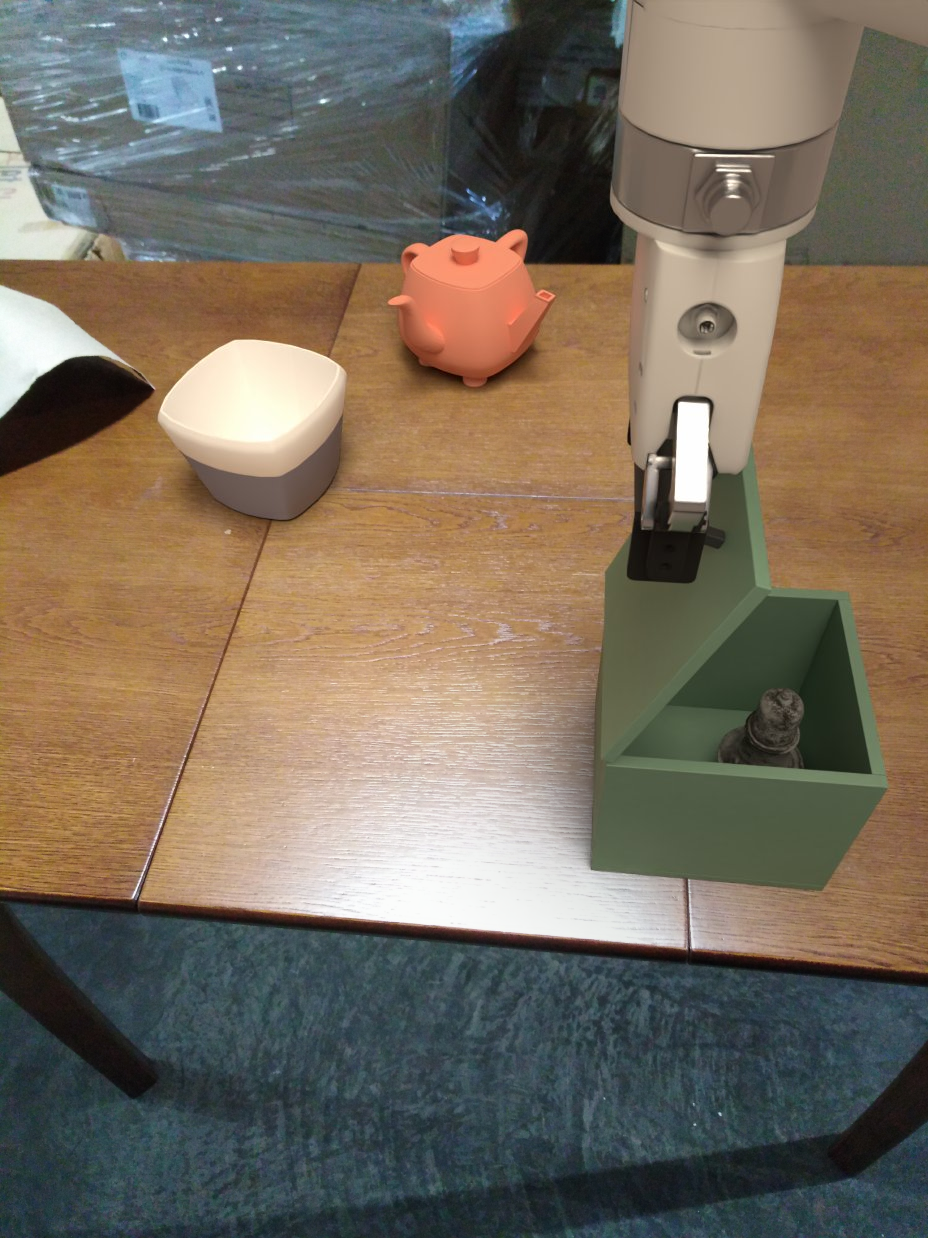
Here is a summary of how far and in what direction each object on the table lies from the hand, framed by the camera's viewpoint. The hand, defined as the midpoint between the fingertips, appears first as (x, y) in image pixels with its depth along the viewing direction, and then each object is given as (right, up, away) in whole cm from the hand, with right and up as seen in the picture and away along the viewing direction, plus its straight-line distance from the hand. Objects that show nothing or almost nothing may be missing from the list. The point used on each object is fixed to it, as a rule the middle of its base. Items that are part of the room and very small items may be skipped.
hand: (658, 506), depth 45 cm
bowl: (-29, +8, +45) cm, 54 cm away
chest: (+8, -18, +21) cm, 28 cm away
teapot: (-9, +23, +56) cm, 62 cm away
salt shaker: (+11, -18, +20) cm, 29 cm away
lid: (+2, -4, +4) cm, 6 cm away
